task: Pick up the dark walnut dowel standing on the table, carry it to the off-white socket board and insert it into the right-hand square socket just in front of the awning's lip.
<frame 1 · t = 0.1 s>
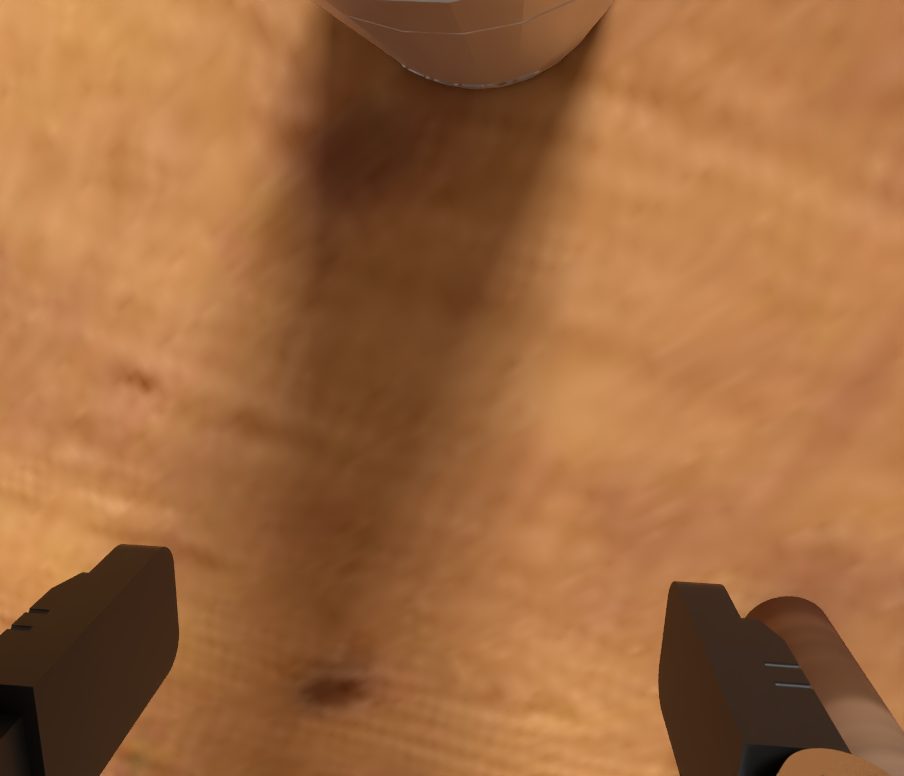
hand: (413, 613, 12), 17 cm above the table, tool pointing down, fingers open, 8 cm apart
walnut dowel: (784, 634, 31), on the table
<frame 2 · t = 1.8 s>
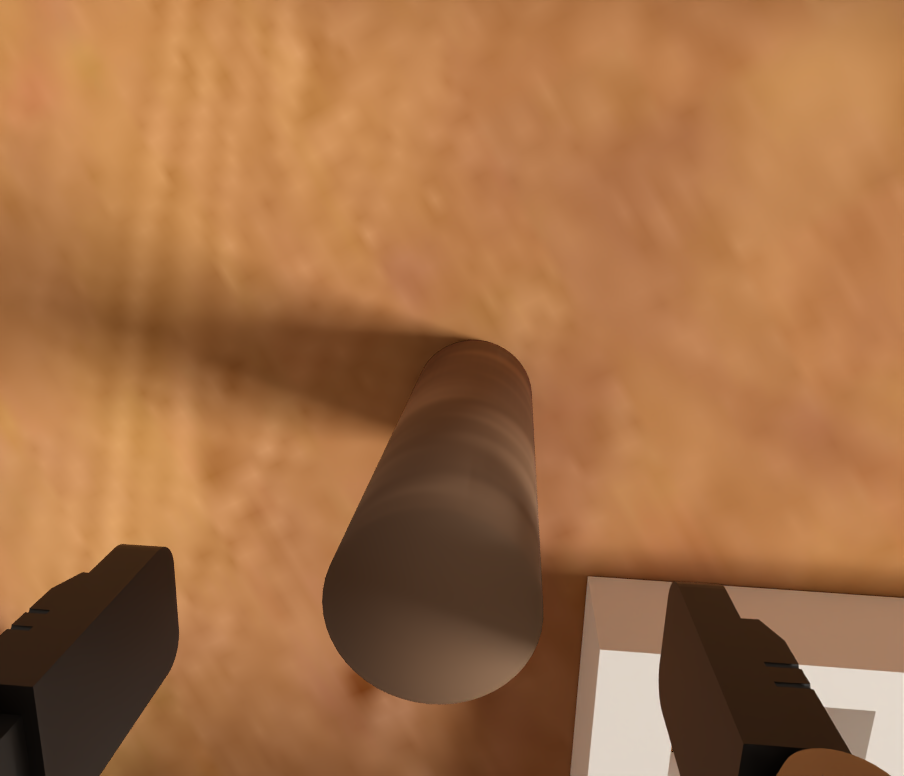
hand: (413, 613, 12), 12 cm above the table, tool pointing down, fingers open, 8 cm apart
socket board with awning: (832, 773, 27), on the table
walnut dowel: (473, 396, 24), on the table
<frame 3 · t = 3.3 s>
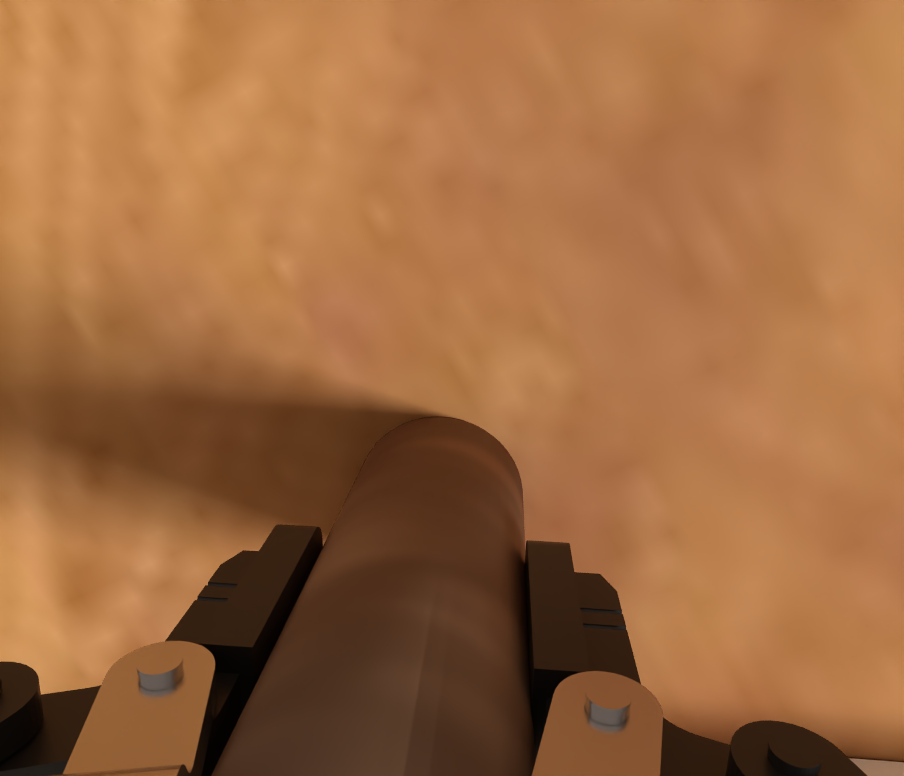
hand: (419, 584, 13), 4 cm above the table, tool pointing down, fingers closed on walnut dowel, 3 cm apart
walnut dowel: (440, 495, 17), on the table, touching gripper
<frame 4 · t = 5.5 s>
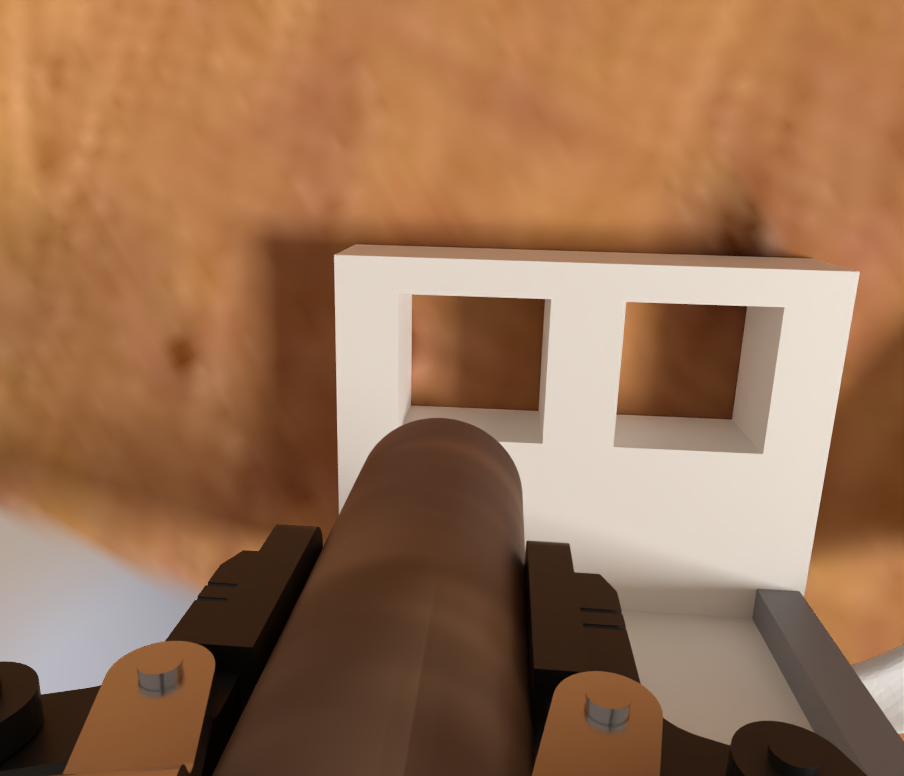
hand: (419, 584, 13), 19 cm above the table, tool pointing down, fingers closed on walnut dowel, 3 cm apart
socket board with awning: (569, 419, 32), on the table
walnut dowel: (439, 495, 17), point 15 cm above the table, touching gripper
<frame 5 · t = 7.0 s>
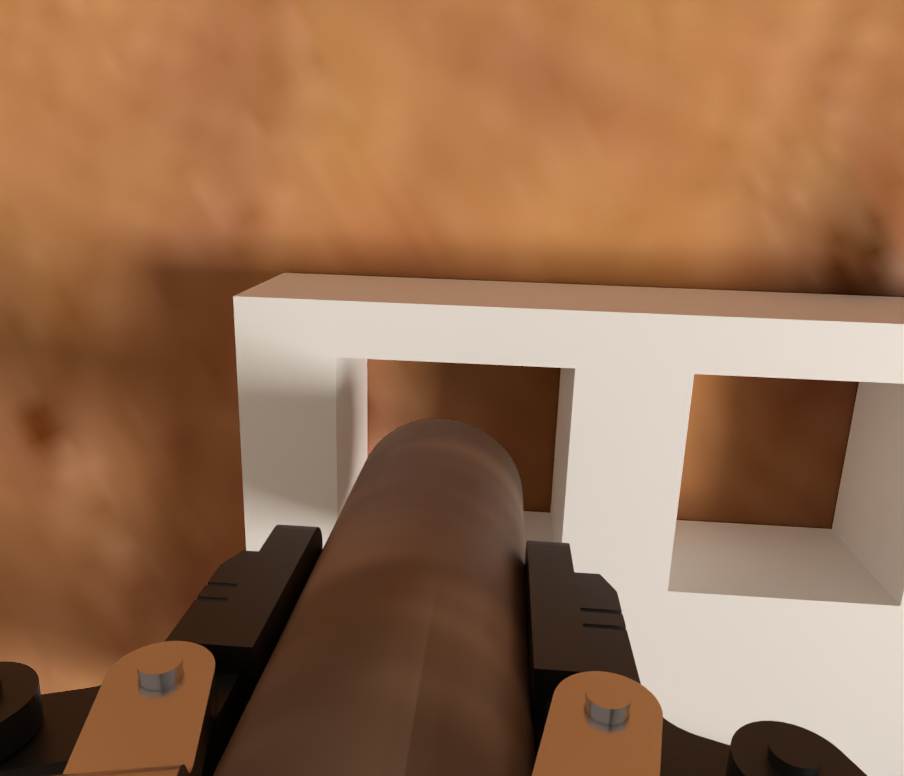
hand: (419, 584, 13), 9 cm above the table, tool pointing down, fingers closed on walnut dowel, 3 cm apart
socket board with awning: (594, 524, 22), on the table
walnut dowel: (440, 496, 17), point 5 cm above the table, touching gripper
when the fingers open (6 cm above the table, at t = 7.9 s): walnut dowel drops 2 cm, resting in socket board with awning.
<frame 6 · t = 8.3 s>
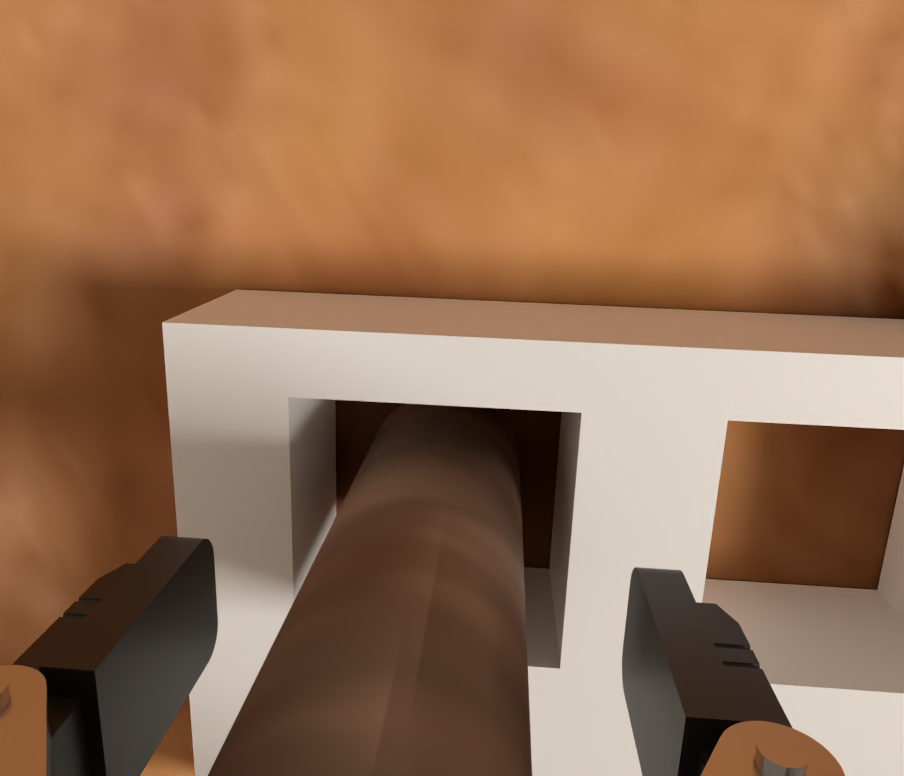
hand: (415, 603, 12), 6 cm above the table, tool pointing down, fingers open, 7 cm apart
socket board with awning: (600, 582, 19), on the table
walnut dowel: (445, 462, 19), resting in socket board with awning
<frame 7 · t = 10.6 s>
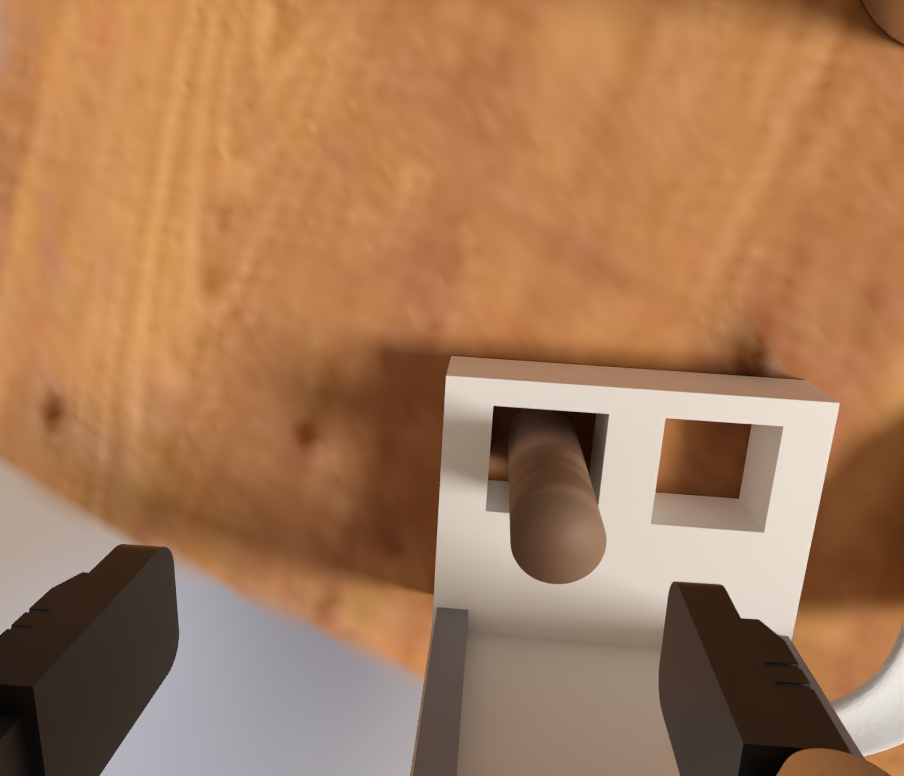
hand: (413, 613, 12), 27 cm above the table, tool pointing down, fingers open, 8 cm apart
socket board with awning: (611, 494, 41), on the table
walnut dowel: (541, 435, 40), resting in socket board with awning
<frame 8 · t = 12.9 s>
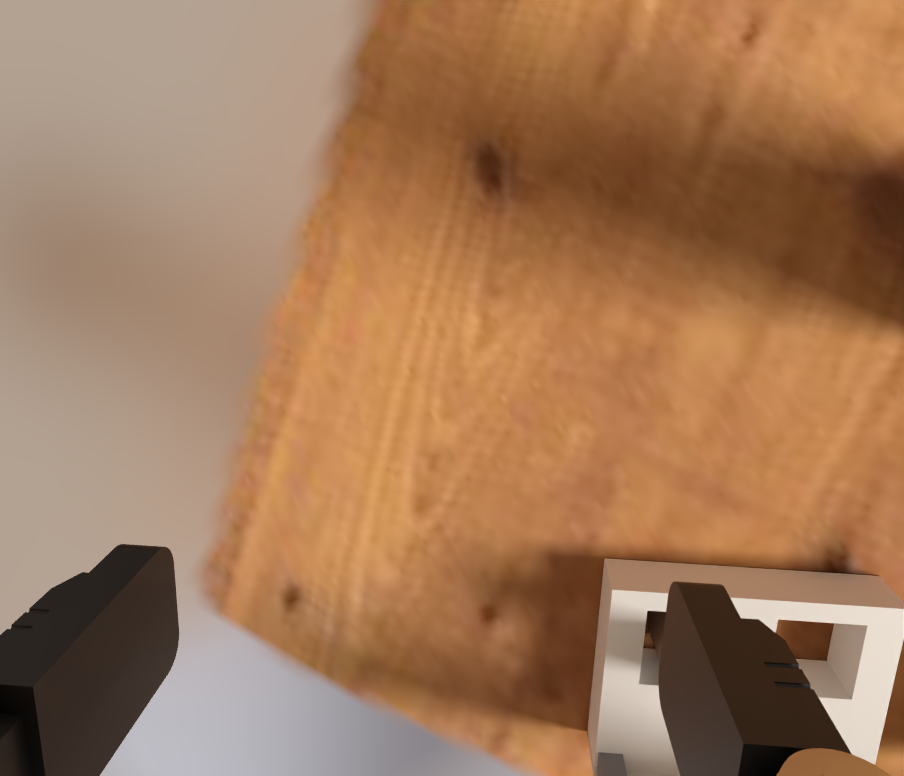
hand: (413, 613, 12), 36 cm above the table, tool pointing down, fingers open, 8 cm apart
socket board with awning: (726, 657, 53), on the table
walnut dowel: (672, 615, 52), resting in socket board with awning
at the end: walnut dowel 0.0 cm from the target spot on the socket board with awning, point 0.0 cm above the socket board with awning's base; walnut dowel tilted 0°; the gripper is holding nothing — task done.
